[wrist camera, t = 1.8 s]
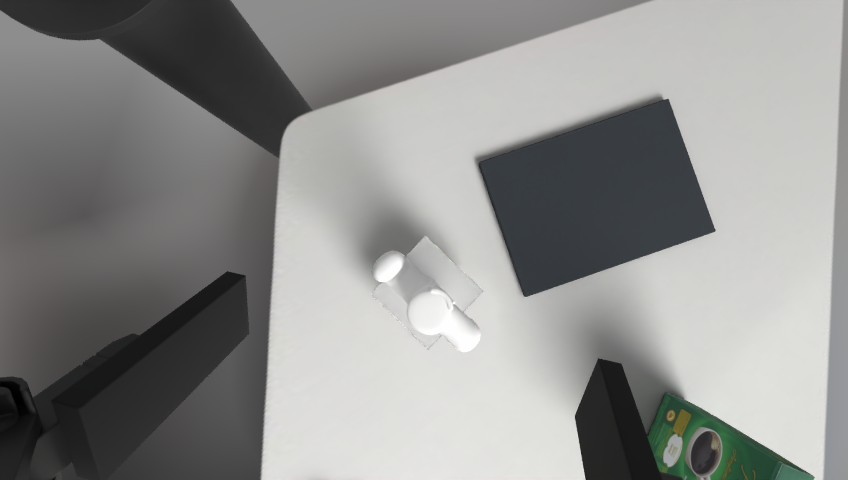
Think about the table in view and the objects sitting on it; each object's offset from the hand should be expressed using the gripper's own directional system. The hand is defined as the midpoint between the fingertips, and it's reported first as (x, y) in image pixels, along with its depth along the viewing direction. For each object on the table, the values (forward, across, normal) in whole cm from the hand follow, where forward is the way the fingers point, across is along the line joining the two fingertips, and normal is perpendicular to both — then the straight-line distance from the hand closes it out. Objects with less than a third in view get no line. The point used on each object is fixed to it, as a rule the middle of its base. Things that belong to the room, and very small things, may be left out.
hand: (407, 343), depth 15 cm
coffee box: (+22, +23, -21) cm, 38 cm away
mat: (+30, +12, -1) cm, 32 cm away
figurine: (+23, -2, -12) cm, 25 cm away
